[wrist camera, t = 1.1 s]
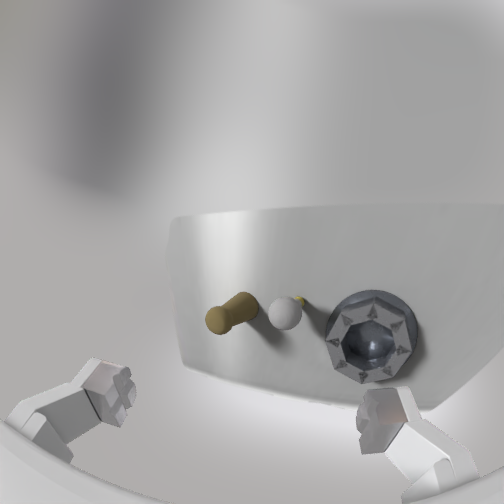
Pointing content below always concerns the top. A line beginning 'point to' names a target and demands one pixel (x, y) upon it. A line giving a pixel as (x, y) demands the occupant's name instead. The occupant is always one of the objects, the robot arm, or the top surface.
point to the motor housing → (371, 336)
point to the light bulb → (286, 312)
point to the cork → (231, 313)
